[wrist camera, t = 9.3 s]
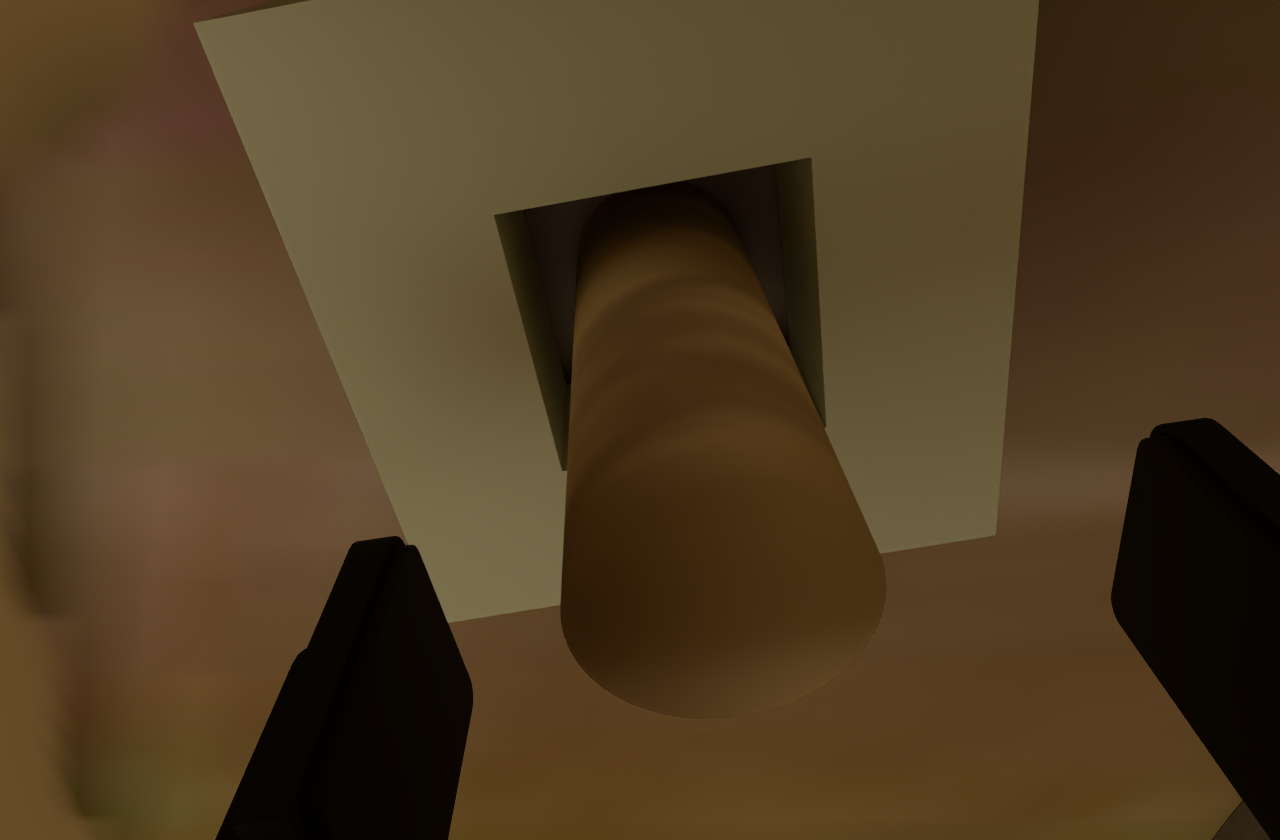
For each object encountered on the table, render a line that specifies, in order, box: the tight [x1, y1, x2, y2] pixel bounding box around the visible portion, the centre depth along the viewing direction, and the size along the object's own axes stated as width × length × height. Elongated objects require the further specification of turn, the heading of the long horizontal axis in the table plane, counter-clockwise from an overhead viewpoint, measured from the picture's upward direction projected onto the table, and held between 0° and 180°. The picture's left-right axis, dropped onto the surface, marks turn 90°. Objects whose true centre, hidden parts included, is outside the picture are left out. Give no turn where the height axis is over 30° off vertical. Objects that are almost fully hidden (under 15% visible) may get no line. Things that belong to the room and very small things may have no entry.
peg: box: [560, 181, 886, 719], centre depth 15 cm, size 4×4×12 cm
